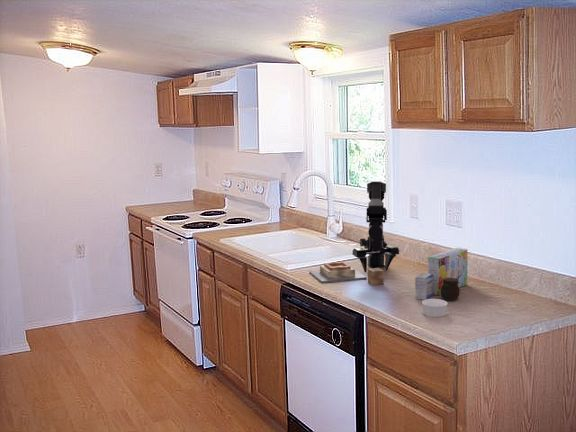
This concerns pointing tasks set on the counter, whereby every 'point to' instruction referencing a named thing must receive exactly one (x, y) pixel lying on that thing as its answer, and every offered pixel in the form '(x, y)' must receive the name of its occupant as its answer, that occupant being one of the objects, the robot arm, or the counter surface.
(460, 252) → the snack box
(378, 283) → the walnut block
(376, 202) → the robot arm
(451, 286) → the mate gourd
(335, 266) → the socket plinth
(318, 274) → the grey base plate
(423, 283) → the medicine box
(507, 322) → the counter surface
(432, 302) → the ramekin
